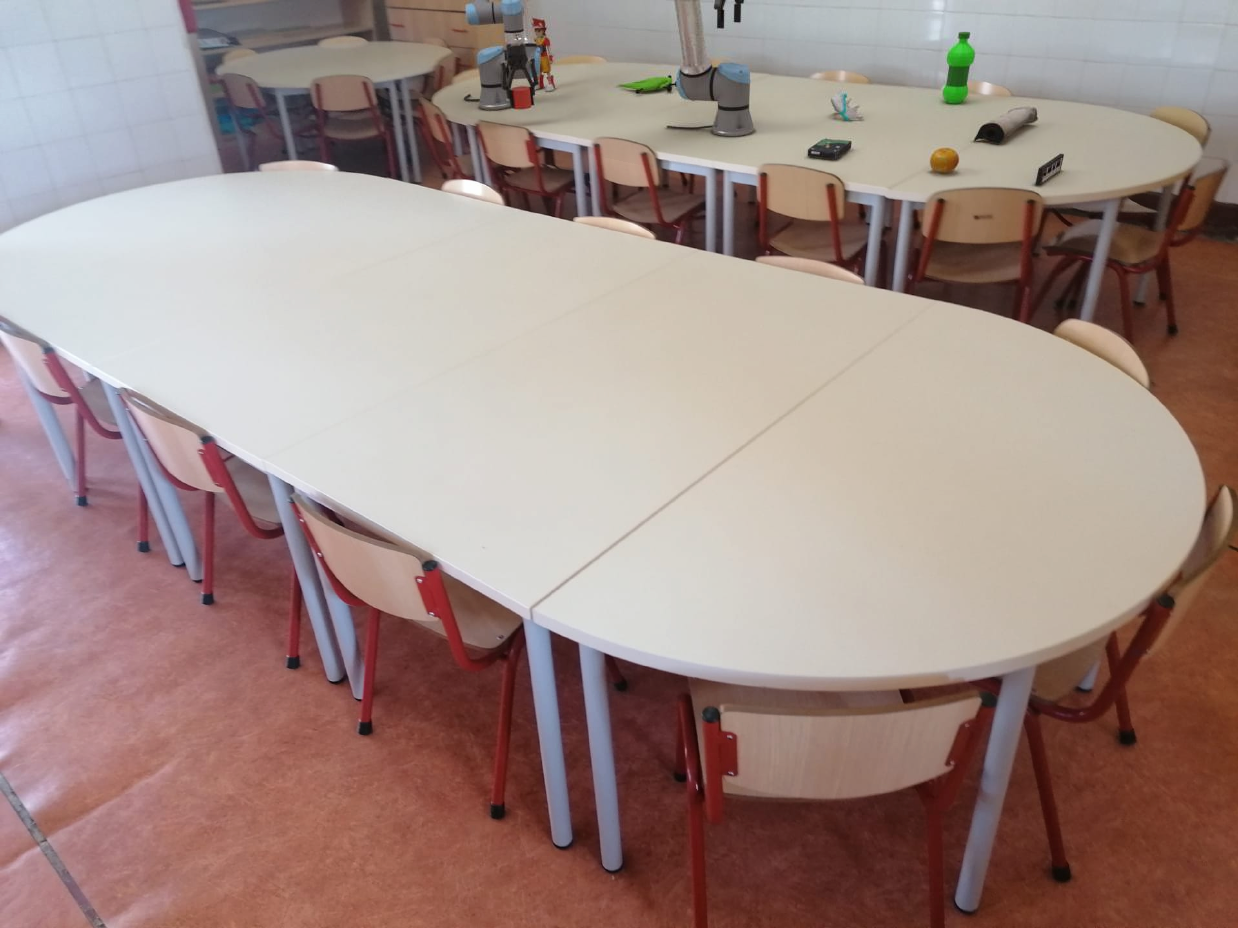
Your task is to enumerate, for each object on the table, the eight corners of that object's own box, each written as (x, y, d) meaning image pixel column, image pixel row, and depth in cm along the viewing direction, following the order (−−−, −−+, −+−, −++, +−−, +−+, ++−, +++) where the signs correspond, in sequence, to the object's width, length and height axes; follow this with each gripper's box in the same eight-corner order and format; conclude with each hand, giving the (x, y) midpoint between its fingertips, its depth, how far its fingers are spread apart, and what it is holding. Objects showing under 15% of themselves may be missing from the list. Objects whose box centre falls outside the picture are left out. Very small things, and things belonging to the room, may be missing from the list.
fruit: (924, 163, 281) (941, 140, 278) (925, 165, 289) (941, 143, 286) (946, 178, 280) (963, 155, 277) (947, 180, 288) (963, 158, 285)
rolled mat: (1005, 112, 327) (1029, 94, 319) (1019, 133, 327) (1043, 116, 319) (969, 134, 310) (993, 117, 301) (984, 157, 310) (1008, 139, 302)
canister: (510, 109, 355) (508, 90, 351) (516, 105, 361) (514, 86, 357) (528, 109, 353) (526, 90, 349) (534, 105, 359) (532, 86, 355)
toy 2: (689, 81, 403) (635, 80, 419) (688, 69, 400) (634, 69, 416) (655, 100, 386) (600, 99, 403) (654, 88, 383) (598, 87, 400)
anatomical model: (825, 90, 346) (851, 83, 346) (828, 117, 352) (853, 110, 352) (836, 99, 334) (863, 92, 333) (839, 127, 340) (865, 120, 339)
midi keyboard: (1039, 185, 269) (1043, 168, 266) (1035, 184, 270) (1038, 168, 267) (1060, 170, 279) (1064, 154, 277) (1056, 169, 280) (1060, 153, 277)
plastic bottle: (973, 101, 354) (984, 32, 339) (955, 106, 349) (966, 36, 335) (952, 97, 361) (962, 29, 346) (934, 102, 356) (944, 33, 342)
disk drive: (836, 161, 300) (851, 148, 310) (836, 152, 298) (852, 140, 308) (806, 157, 305) (822, 145, 315) (807, 149, 303) (823, 137, 313)
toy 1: (527, 91, 410) (520, 18, 393) (536, 86, 417) (529, 15, 400) (551, 91, 406) (544, 19, 389) (559, 87, 413) (553, 15, 396)
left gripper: (492, 48, 338) (500, 112, 351) (543, 42, 344) (549, 104, 357) (487, 45, 344) (495, 108, 357) (537, 39, 350) (543, 100, 363)
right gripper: (736, -41, 347) (735, 19, 359) (704, -33, 330) (704, 30, 342) (754, -41, 343) (752, 20, 355) (722, -32, 327) (722, 31, 339)
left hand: (522, 106), depth 357 cm, fingers closed on canister, 7 cm apart
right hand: (729, 25), depth 349 cm, fingers open, 13 cm apart
